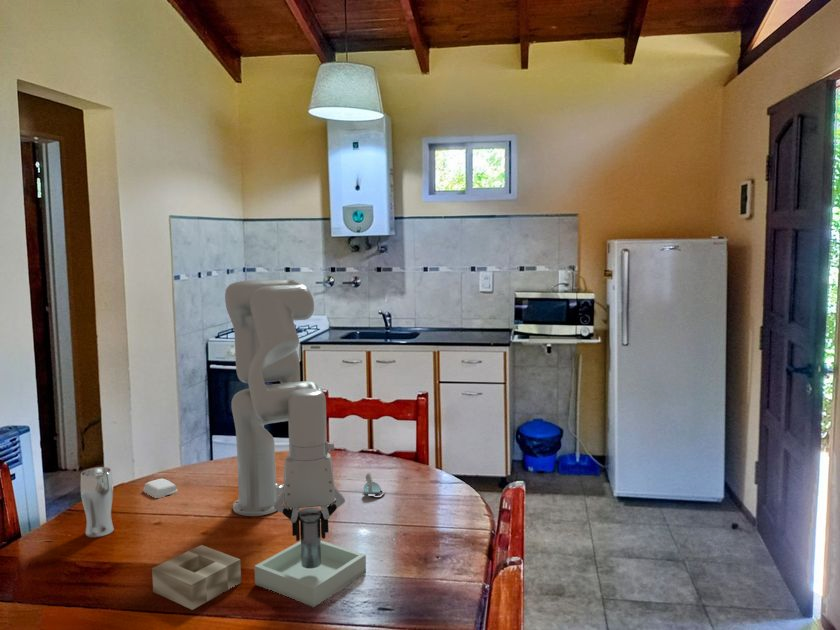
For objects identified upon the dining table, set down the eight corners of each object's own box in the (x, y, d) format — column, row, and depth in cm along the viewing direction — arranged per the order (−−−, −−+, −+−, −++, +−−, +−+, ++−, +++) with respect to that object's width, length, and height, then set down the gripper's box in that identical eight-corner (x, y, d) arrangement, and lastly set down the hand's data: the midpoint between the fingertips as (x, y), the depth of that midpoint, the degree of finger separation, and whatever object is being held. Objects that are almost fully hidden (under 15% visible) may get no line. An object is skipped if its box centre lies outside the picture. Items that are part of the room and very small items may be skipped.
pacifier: (385, 490, 187) (364, 489, 187) (386, 468, 187) (364, 468, 187) (384, 500, 180) (361, 499, 180) (384, 478, 179) (362, 477, 179)
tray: (309, 553, 150) (308, 536, 149) (366, 572, 141) (365, 554, 140) (255, 584, 136) (254, 565, 136) (314, 608, 127) (313, 588, 127)
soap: (179, 493, 186) (179, 483, 186) (156, 500, 181) (155, 490, 181) (164, 485, 192) (164, 475, 192) (141, 492, 187) (140, 482, 187)
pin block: (202, 567, 144) (201, 544, 143) (241, 582, 137) (240, 559, 136) (153, 591, 134) (151, 568, 133) (192, 609, 127) (191, 585, 126)
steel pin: (310, 556, 141) (309, 506, 140) (327, 562, 139) (326, 510, 137) (294, 565, 137) (293, 513, 136) (312, 571, 135) (310, 519, 133)
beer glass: (103, 539, 157) (99, 477, 155) (76, 537, 158) (72, 475, 157) (121, 526, 164) (118, 467, 162) (96, 524, 165) (92, 465, 163)
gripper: (348, 442, 141) (349, 525, 143) (265, 447, 137) (268, 533, 139) (352, 453, 133) (353, 541, 135) (264, 459, 130) (268, 549, 132)
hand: (310, 536), depth 137 cm, fingers closed on steel pin, 4 cm apart
